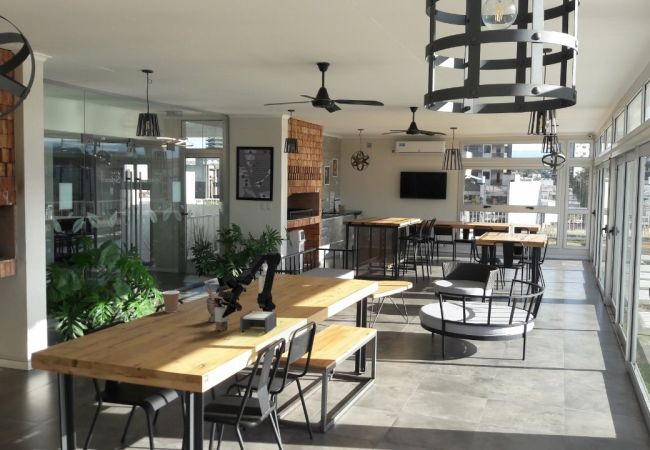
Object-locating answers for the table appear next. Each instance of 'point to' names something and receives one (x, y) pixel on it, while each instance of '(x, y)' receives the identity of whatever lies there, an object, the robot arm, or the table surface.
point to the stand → (221, 325)
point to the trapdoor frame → (259, 322)
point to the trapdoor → (257, 315)
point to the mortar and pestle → (211, 304)
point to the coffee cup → (171, 300)
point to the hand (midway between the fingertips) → (219, 316)
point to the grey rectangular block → (220, 314)
